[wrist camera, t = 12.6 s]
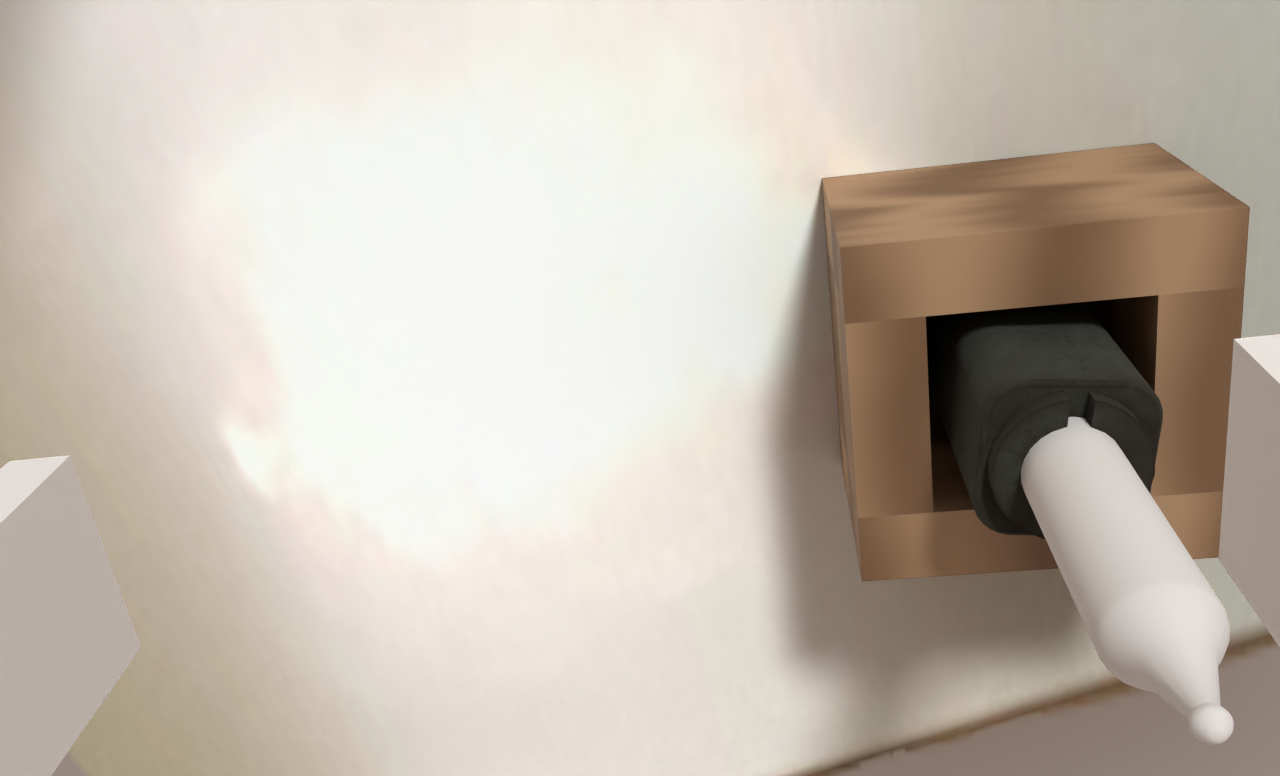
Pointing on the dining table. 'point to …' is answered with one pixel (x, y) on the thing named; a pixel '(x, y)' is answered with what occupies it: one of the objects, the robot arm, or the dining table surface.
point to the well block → (1015, 278)
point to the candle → (1082, 489)
